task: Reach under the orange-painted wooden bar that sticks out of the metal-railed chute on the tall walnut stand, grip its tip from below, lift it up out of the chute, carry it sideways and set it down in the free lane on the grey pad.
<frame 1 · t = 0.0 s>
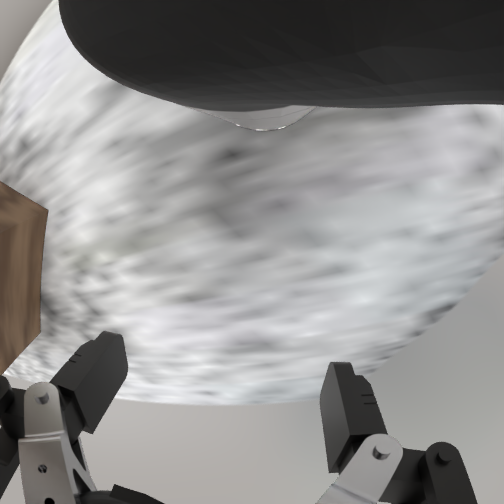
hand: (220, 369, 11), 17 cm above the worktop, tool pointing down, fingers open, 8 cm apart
walnut stand: (12, 260, 30), on the worktop
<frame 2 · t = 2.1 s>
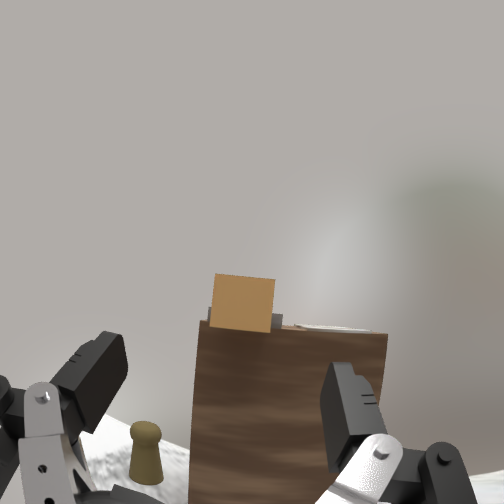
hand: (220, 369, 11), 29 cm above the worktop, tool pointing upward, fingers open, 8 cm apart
wooden bar: (245, 324, 32), point 30 cm above the worktop, touching walnut stand
cork: (146, 477, 37), on the worktop
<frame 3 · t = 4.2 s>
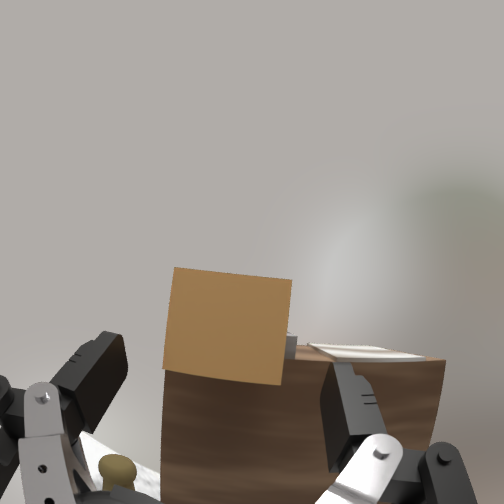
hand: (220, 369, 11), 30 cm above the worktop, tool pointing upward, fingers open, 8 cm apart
wooden bar: (238, 349, 21), point 30 cm above the worktop, touching walnut stand
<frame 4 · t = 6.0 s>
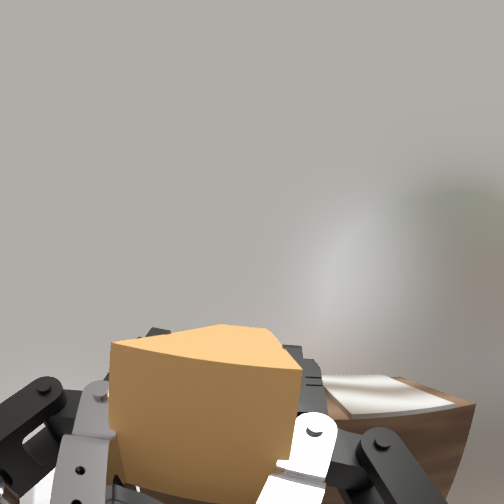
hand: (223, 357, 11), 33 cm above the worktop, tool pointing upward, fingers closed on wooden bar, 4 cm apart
wooden bar: (229, 397, 16), point 30 cm above the worktop, touching gripper, walnut stand
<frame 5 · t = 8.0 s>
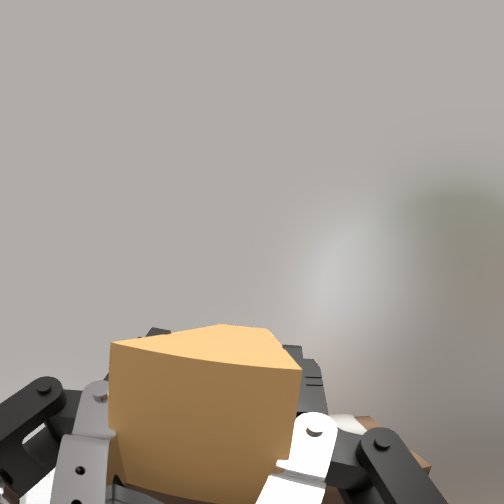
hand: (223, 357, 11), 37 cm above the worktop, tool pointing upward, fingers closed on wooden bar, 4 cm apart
wooden bar: (229, 397, 16), point 34 cm above the worktop, touching gripper
when the fingers open (34 cm above the worktop, at t = 10.4 s): wooden bar stays where it is, resting on walnut stand.
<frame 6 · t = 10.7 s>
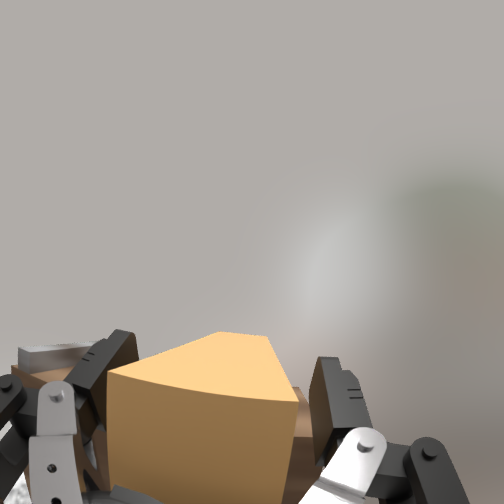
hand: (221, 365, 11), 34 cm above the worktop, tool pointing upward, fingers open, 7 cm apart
wooden bar: (227, 408, 16), point 30 cm above the worktop, touching walnut stand
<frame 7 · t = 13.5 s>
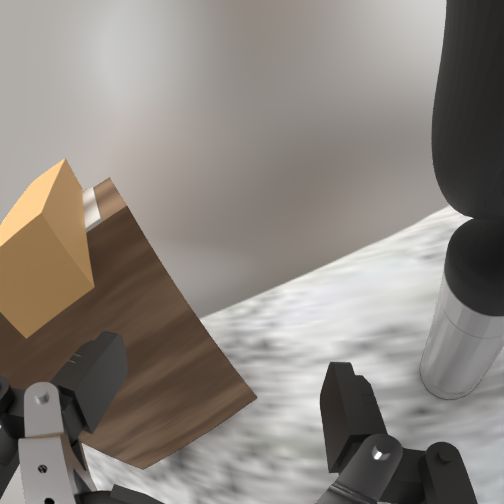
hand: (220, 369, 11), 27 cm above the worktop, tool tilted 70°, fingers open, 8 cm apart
wooden bar: (61, 232, 19), point 30 cm above the worktop, touching walnut stand
walnut stand: (180, 407, 38), on the worktop
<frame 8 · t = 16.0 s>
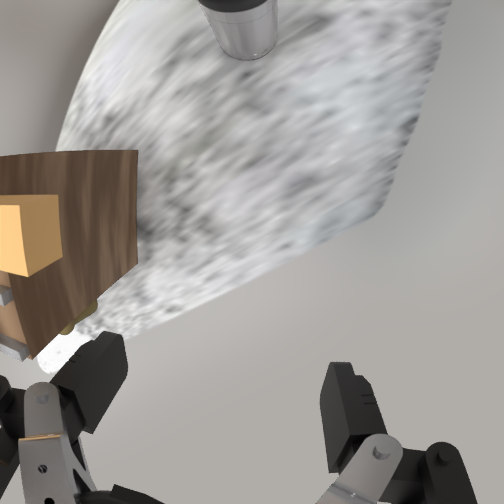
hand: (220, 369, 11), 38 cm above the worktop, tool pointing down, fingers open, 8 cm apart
walnut stand: (107, 206, 48), on the worktop
cork: (86, 300, 55), on the worktop
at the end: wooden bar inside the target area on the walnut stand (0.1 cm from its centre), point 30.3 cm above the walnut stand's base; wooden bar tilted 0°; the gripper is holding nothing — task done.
